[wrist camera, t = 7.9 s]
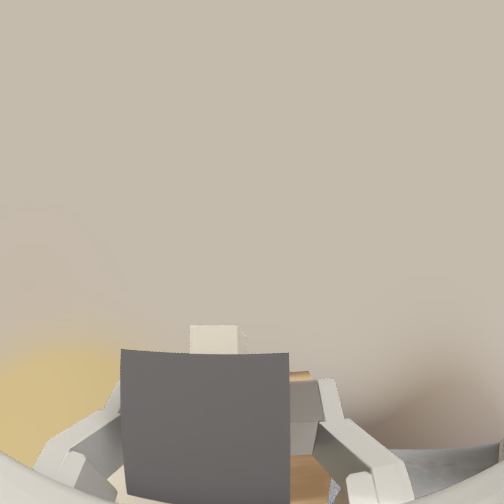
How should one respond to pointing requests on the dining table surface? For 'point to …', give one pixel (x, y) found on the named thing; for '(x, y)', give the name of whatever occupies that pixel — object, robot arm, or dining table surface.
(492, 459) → the dining table surface
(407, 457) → the dining table surface
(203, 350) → the grey bar with knob
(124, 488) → the block
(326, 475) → the oak stand
